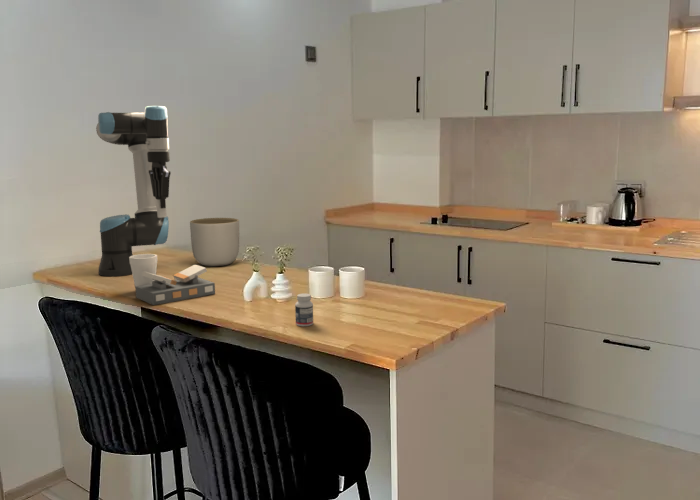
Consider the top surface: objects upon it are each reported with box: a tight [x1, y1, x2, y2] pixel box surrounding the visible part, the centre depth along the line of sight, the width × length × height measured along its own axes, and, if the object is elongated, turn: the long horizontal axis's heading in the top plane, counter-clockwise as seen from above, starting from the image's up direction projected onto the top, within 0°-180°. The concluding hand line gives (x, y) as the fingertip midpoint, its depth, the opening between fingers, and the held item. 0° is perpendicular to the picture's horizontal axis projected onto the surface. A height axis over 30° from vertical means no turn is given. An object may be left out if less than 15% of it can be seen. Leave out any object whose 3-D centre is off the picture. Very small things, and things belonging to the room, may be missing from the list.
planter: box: [189, 217, 240, 267], centre depth 282 cm, size 21×21×19 cm
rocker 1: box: [142, 271, 177, 285], centre depth 223 cm, size 8×9×2 cm
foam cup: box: [129, 253, 158, 287], centre depth 233 cm, size 10×9×13 cm
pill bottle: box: [294, 293, 314, 327], centre depth 192 cm, size 5×5×9 cm
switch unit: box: [134, 276, 216, 306], centre depth 228 cm, size 14×23×6 cm, turn 131°
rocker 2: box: [173, 264, 208, 282], centre depth 231 cm, size 8×9×2 cm
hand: (162, 217), depth 234 cm, fingers closed
